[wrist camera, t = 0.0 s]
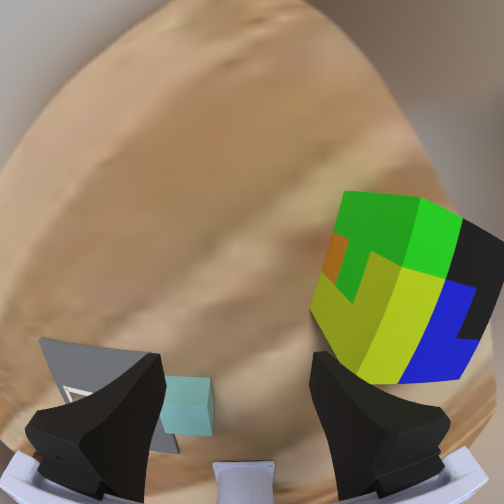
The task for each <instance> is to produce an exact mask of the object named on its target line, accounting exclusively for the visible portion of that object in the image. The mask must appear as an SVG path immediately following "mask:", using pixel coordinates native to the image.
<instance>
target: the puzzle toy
mask: <svg viewBox="0 0 504 504" xmlns="http://www.w3.org/2000/svg"><path fill="white" fill-rule="evenodd" d="M503 282H504V242H503V241H502V240H500V239H498V238H497V237H495V236H493V235H492V234H490V233H488V232H486V231H485V230H483V229H481V228H480V227H478V226H476V225H474V224H473V223H471V222H469V221H467V220H465V219H463V218H461V217H460V216H458V215H456V214H454V213H452V212H450V211H448V210H446V209H444V208H442V207H440V206H438V205H436V204H434V203H432V202H430V201H427V200H425V199H423V198H421V197H413V196H403V195H393V194H382V193H369V192H355V191H344V194H343V198H342V202H341V205H340V209H339V213H338V217H337V221H336V224H335V228H334V231H333V235H332V238H331V242H330V245H329V249H328V252H327V256H326V259H325V262H324V265H323V269H322V272H321V275H320V278H319V281H318V284H317V288H316V291H315V294H314V297H313V300H312V303H311V306H310V308H309V309H310V310H311V312H312V314H313V316H314V317H315V319H316V321H317V323H318V325H319V326H320V328H321V330H322V332H323V333H324V335H325V337H326V339H327V341H328V342H329V344H330V346H331V348H332V350H333V351H334V353H335V355H336V357H337V359H338V360H339V362H340V363H341V364H342V365H344V366H345V367H346V368H347V369H349V370H350V371H351V372H353V373H354V374H356V375H357V376H358V377H360V378H361V379H363V380H364V381H366V382H368V383H369V384H409V383H426V382H439V381H449V380H458V379H460V377H461V375H462V373H463V372H464V370H465V368H466V366H467V365H468V363H469V361H470V359H471V357H472V355H473V353H474V352H475V350H476V348H477V346H478V344H479V341H480V339H481V337H482V335H483V333H484V331H485V329H486V326H487V324H488V322H489V319H490V317H491V315H492V312H493V310H494V307H495V305H496V302H497V299H498V297H499V294H500V291H501V288H502V285H503Z"/></svg>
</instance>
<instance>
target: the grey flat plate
mask: <svg viewBox="0 0 504 504" xmlns="http://www.w3.org/2000/svg"><path fill="white" fill-rule="evenodd" d="M39 342H40V345H41V347H42V350H43V353H44V355H45V358H46V361H47V363H48V366H49V368H50V370H51V373H52V375H53V377H54V380H55V382H56V384H57V386H58V388H59V391H60V393H61V395H62V397H63V399H64V401H65V403H66V404H69V403H71V402H72V400H73V399H74V397H75V396H77V397H81V398H84V397H86V396H88V395H91V394H92V393H94V392H96V391H98V390H100V389H102V388H103V387H105V386H106V385H108V384H109V383H111V382H112V381H114V380H115V379H116V378H118V377H119V376H120V375H122V374H123V373H124V372H126V371H127V370H128V369H129V368H131V367H132V366H133V365H134V364H135V363H137V362H138V361H139V360H140V359H141V358H142V357H144V356H145V355H146V354H147V353H152V352H140V351H129V350H120V349H111V348H103V347H95V346H88V345H82V344H75V343H69V342H64V341H58V340H53V339H48V338H43V337H41V338H40V339H39ZM150 450H151V451H158V452H166V453H174V454H179V448H178V446H177V443H176V440H175V437H174V434H170V433H165V430H164V427H163V424H162V421H161V418H160V416H159V419H158V422H157V425H156V428H155V431H154V434H153V437H152V441H151V444H150Z"/></svg>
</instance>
